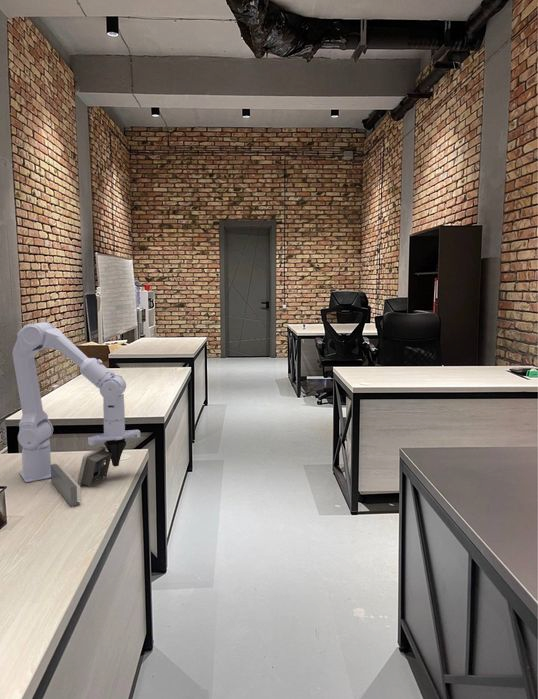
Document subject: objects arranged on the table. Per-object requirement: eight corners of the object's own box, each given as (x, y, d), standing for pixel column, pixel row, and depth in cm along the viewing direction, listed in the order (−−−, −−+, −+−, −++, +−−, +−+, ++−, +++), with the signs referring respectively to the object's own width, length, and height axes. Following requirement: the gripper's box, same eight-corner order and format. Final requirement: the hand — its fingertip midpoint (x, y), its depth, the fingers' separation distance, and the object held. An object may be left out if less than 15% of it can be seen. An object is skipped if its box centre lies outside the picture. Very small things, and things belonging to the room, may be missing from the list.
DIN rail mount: (51, 482, 148) (50, 464, 147) (60, 480, 149) (59, 463, 149) (71, 506, 132) (70, 487, 131) (81, 504, 133) (80, 485, 133)
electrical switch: (96, 475, 154) (98, 444, 152) (112, 478, 152) (114, 447, 151) (76, 486, 145) (77, 454, 144) (92, 490, 144) (94, 458, 142)
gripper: (92, 425, 143) (94, 474, 145) (144, 418, 151) (145, 464, 153) (85, 420, 149) (86, 467, 150) (134, 413, 157) (135, 457, 159)
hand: (115, 465), depth 152 cm, fingers closed
